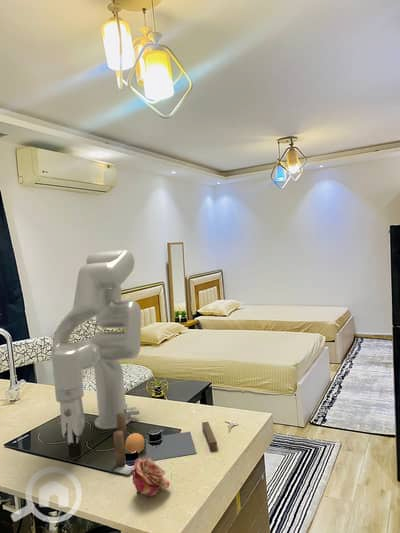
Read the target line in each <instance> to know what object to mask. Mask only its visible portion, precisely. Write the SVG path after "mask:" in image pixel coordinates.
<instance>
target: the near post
mask: <svg viewBox="0 0 400 533" xmlns="http://www.w3.org/2000/svg"><path fill="white" fill-rule="evenodd" d="M113 443H114V454H115V464H116V465H115V466H116V468H124V467H125V466H126V465H127V463H126V462H127V461H126V460H127V459H126V450H125V449H126V447H125V445H124V437H123V431H116V430H115V431H114V432H113ZM123 466H124V467H123Z"/></svg>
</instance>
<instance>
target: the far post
mask: <svg viewBox="0 0 400 533" xmlns="http://www.w3.org/2000/svg"><path fill="white" fill-rule="evenodd" d="M116 420H117V428H116V429H117V431H123V437H124V446H125V442H126V439H127V437H128V436H127V426H126V425H127V424H126V423H125V414H124V413H119V414H117V415H116Z"/></svg>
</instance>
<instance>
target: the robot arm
mask: <svg viewBox="0 0 400 533" xmlns="http://www.w3.org/2000/svg"><path fill="white" fill-rule="evenodd" d="M85 263H86V264H85V265H83V266H81V267H80V269H79V270H78V274H77V281H76V286H75V293H74V299H73V304H72V305H73V306H72V309H71V310H70V311H69V312H68V313H67V314H66V316H64V318H62V320H61V321H60V323H59V324H58V326H57V328H56V330H55V332H54V335H53V340H52V345H51V361H52V372H53V373H52V374H53V382H54V391H55V394H54V395H55V401H56V403H59V407H60V408H59V409H60V410H59V411H60V412H59V413H60V424H61V433H62V437H63V438H64V439H66V438H67V448H68V457H69V459H72V458H78V457H81V455H82V452H83V450H82V442H81V440H80V439H81V435H82V434H83V430H84V428H85V425H86V419H85V410H84V404H83V397H84V395H85V394H84V386H83V384H84V383H83V374H82V371H83V370H85V369H89V368H92V367H93V369H94V370H93V371H94V378H95V388H96V389H95V390H96V400H97V401H96V402H97V409H98V417H97V418H96V419H95V421H94V426H95V427H96V428H97V429H100V430H113V429H117V420H116V415H117V414H119V413H124V414H125V423H126V425H127V424H129V423H130V422H131V420H132V416H135V415H140V414H141V413H140V408H137V407H136V406H134V407H128V403H127V402H126V394H125V392H126V391H125V381H124V372H123V368H122V367H123V366H122V364H120V363H119V360H134V359H135V358H137V357H138V356H139V354H140V351H141V342H142V341H141V339H142V338H141V337H142V335H141V334H142V310H141V307H140V305H139V303H138V302H137V301H136V300H131V299H129V300H128V299H127V300H122V285H123V283H125V281H126V280H127V278H128V277H129V276H130V275H131V273H132V272H133V270H134V267H135V258H134V255H133V253H132V252H131V251H130V250H127V249H119V250H109V251H108V250H107V251H97V252H93V253H91V254H88V256H87V257H86V262H85ZM92 318H95V320H96V321H95V322H96V324H97V326H98V327H100V328H102V329H120V328H121V329H122V328H124V330H123V331H102V332H98V333H96V334H94V335H92V336H91V338H90V340H89V341H83V342H79V341H78V342H70V338H71V336H72V334H73V332H74V331H75V329H77V328H78V327H79V326H80V325H82V324H83V323H85V322H88V321H89V320H91V319H92Z"/></svg>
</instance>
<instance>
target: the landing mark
mask: <svg viewBox="0 0 400 533" xmlns="http://www.w3.org/2000/svg"><path fill="white" fill-rule="evenodd" d="M162 436H163V442H162V443H161V444H160V445H157V446H158V447H157V446H155V445H154V446H152V445H150V444H148V442H147V438H148V437H146V438H145V452H146V453H145V454H146V458H147V459H149V458H150V459H151V460H152V462H153V460H154V462H155V461H159V460H168V459H172V458H179V457H186V456H191V455H196V454H197V450H196V446H195V443H194V439H193V437H192V433H191V431H185V432H178V433H172V434H171V433H170V434H167V435H162ZM156 447H157V448H156ZM154 449H155V450H154Z"/></svg>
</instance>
